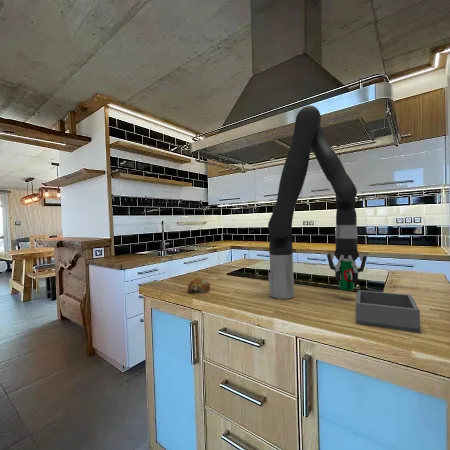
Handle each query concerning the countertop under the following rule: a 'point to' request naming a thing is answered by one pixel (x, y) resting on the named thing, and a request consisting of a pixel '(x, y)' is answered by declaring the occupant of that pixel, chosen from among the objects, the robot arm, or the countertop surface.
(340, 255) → the robot arm
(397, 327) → the bin
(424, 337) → the countertop surface
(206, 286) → the bread roll
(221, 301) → the countertop surface
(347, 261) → the soda can
